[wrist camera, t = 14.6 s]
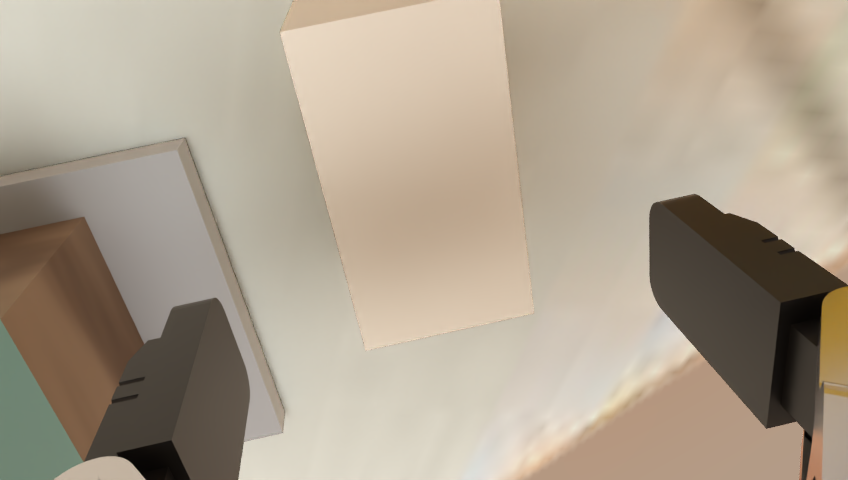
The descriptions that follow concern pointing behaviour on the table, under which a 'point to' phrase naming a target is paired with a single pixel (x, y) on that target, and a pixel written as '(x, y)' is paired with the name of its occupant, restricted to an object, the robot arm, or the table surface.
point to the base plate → (149, 244)
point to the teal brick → (28, 423)
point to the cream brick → (414, 159)
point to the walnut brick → (67, 321)
